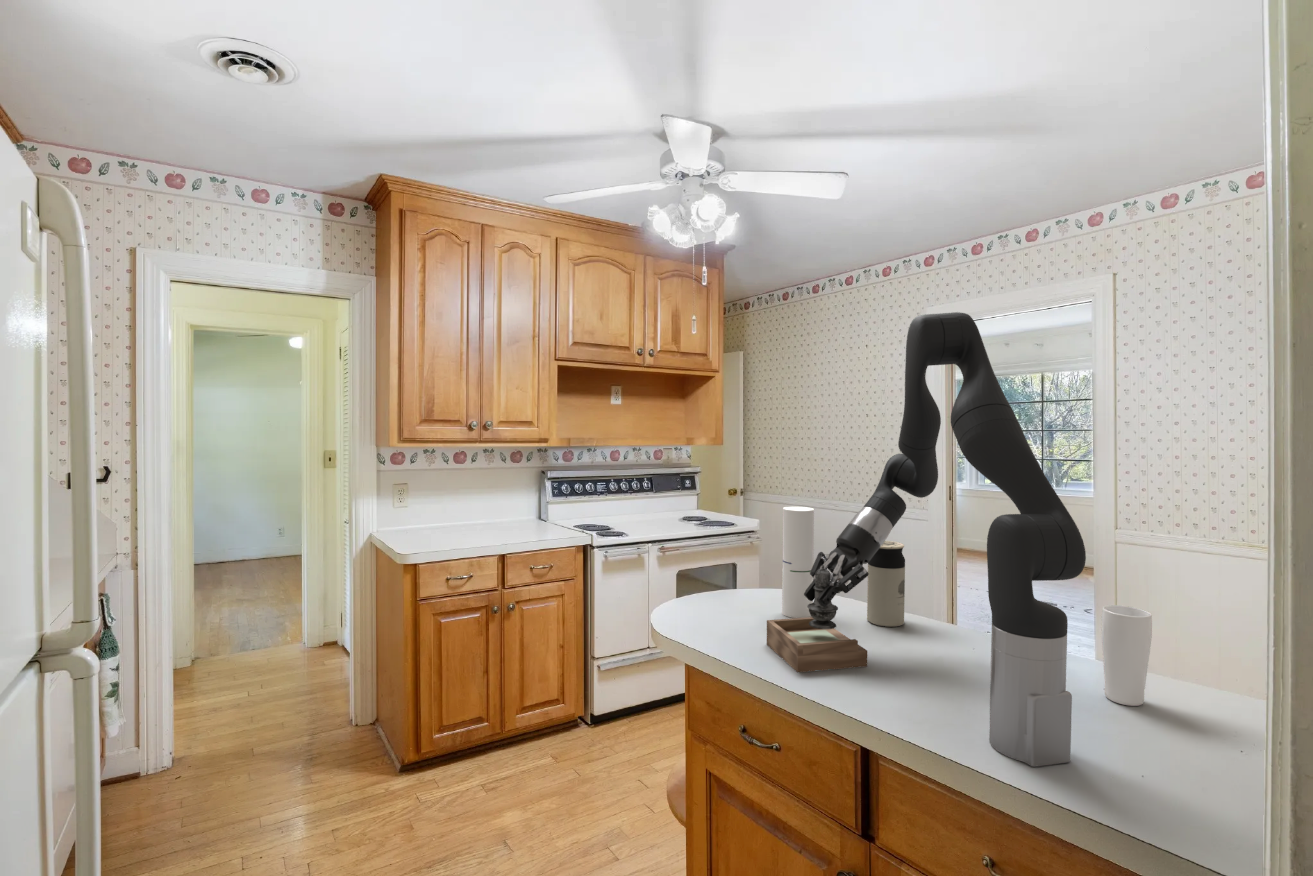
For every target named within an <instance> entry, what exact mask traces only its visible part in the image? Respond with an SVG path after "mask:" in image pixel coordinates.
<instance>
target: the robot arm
mask: <svg viewBox="0 0 1313 876" xmlns="http://www.w3.org/2000/svg"><path fill="white" fill-rule="evenodd" d="M905 344H906V345H905V365H904V366H905V369H904V405H903V406H904V407H903V416H902V420H901V425H900V432H899V437H898V442H897V443H898V444H897V446H898V450H899V451H900V452H901V453H896V454H894V455H892V456H891V457H890V458H889V459H887V461H886V463H885V466H884V467H883V471H882V475H881V477H880V479H879V481H878V483H877V486H876V488H875V490H874V492H873V494H872V495H871V496H870V498H869V499H868V500H867V501H866V502H865V504H864V505H863V507H862V508H861V509H860V510H859V511H858V512H856V513H855V515H854V516H853V518H852V519H851V520H850V521H849V522H848V524H847V525H846V527H845V528H844V529H843V530H842V532H841V533H840V534H839V535H838V537H837V538H836V541H835V543H836V546H835V548H834V549H833V550H832V551H830V552H829V553H826V554H825V553H824V552H823V551H820V552H818V554H817V556H816V558H815V560H814V561H813V567H812V569H811V572H810V575H811V576H812V577H813V582H812V583H811V584H810V585H809V587H808V588H807V589H806V591H805V593H804V596H805V597H806V598H807V599H808V600H810V601H813V602H814V599H815V589H814V588H813V587H814V586H815V573H816V571H817V570H819V569H821V568H822V567H821V566H822V565H824V566H825V567H824V568H825V569H826V570H828V571H829V572H830V583H829V585H830V586H828V585H827V586H826V587H825V589H824V590H823V591H822V593H821V594H820V595H819V596H818V598H817V602H818V603H819V604H820V605H821V606H823V607H826V606H827V604H829V603H830V601H831V602H832V600H833V599H834V598H835V597H836V595H837V594H840V593H841V592H842V593H844V594H848V593H849V592H851V590H853V589H854V588H856V586H858V585H859V584H860V583H861V582H862V581H864V580H865V579H866V578H868V575H869V573H868V570H867V568H865V567H864V566H863V565H866V564H867V565H868V562H869V561H870V560H871V559H872V557H873V556H874V555H875V553H876V552H877V551H878V549H879V548H880V547H881V545H882V544H883V543H884V541H887V538H888V537H889V536H890V533H891V531H892V530H893V529H894V528H895V526H896V524H897V523H898V521H900V520H901V517H902V516H903V515H904V514H905V512H906V509H907V504H906V502H905V500H904V499H903V498H902V497H901V496H900V495H899V494H897V492H895V491H894V490H893V489H894V488H897V489H899V490H901V491H903V492H905V493H906V494H909V495H911V496H913V497H916V498H919V499H923V498H926V497H928V496H929V495H931V494H932V493H933V492H934V491H935V490H936V487H937V484H938V480H939V468H938V462H937V461H938V459H937V451H936V449H937V448H936V447H937V442H938V439H939V434H940V429H941V422H942V421H941V420H942V419H941V418H942V417H941V412H940V410H939V407H938V405H937V402H936V400H935V399H934V397H933V395H932V393H931V391H930V389H929V387H928V384H927V381H926V376H927V375H926V373H927V369H928V366H944V365H945V366H947V365H955V366H957V367H958V368H959V370H960V372H961V374H962V379H963V380H962V384H961V386H960V390H959V392H958V393H957V396H956V399H955V400H954V404H953V406H952V409H951V413H950V425H951V429H952V431H953V434H954V436H955V439H956V442H957V444H958V446H959V449H960V451H961V453H962V455H963V457H964V458H965V459H966V461H967V462H968V463H969V464H970V465H971V466H972V467H973V468H974V469H975V470H977V472H979V473H980V474H981V475H982V476H984V477H985V478H986V479H987V480H989V481H990V482H991V483H992V484H994V485H995V486H996V487H997V488H998V489H1000V490H1001V491H1002V492H1003V493H1004V494H1006V496H1007V497H1008V498H1009V499H1010V500H1011V501H1012V503H1013V504H1014V505H1015V507H1016V508H1017V509H1018V512H1019V513H1012V514H1011V513H1009V514H1007V513H1006V514H1001V515H999V516H996V518H995V519H993V521H992V522H991V524H990V525H989V528H988V533H987V537H986V539H987V540H986V558H987V559H986V560H987V563H986V564H987V585H988V586H987V590H988V591H987V594H988V601H989V605H990V606H989V607H990V610H991V641H990V643H991V644H990V645H991V646H990V680H989V681H990V682H989V683H990V685H989V686H990V687H989V688H990V690H989V730H988V732H989V734H988V735H989V737H988V740H989V743H990V745H991V746H992V747H993V748H994V750H996V751H998V753H1000V754H1002V755H1005V757H1009V758H1011V759H1013V760H1016V761H1020V762H1023V763H1025V764H1027V765H1029V766H1030V767H1033V768H1035V767H1041V766H1043V767H1044V766H1051V765H1057V764H1058V765H1059V764H1064V763H1070V762H1071V746H1072V716H1073V715H1072V714H1073V713H1072V710H1073V707H1072V705H1073V694H1072V693H1071V692H1069V691H1068V690H1066V688H1067V658H1068V657H1067V654H1068V651H1067V650H1068V616H1067V614H1066V613H1065V612H1064V610H1062V609H1060V608H1059V607H1057V606H1055V605H1053V604H1049V603H1047V602H1044V601H1041V600H1038V599H1036V598H1035V595H1034V590H1033V589H1034V588H1033V581H1035V582H1036V581H1039V582H1040V581H1049V582H1050V581H1052V582H1053V581H1066V580H1067V581H1068V580H1072V579H1075V578H1077V577H1079V575H1081V574H1082V572H1083V571H1084V569H1085V565H1086V560H1087V555H1086V552H1087V551H1086V547H1085V543H1084V542H1085V541H1084V540H1083V537H1082V534H1081V532H1080V529H1079V527H1078V525H1077V524H1076V521H1075V519H1073V517H1072V515H1071V514H1070V512H1069V511H1068V509H1067V508H1066V505H1065V504H1064V503H1063V501H1062V500H1061V499H1060V496H1059V495H1058V494H1057V492H1056V490H1055V489H1054V487H1053V486H1052V484H1051V482H1050V481H1049V480H1048V477H1046V474H1045V473H1044V470H1043V469H1042V467H1041V466H1040V463H1039V462H1038V459H1037V458H1036V456H1035V453H1034V452H1033V450H1032V448H1031V447H1030V445H1029V443H1028V440H1027V438H1026V436H1025V434H1024V431H1023V428H1022V427H1021V425H1020V422H1019V420H1018V419H1017V416H1016V414H1015V412H1014V410H1013V408H1012V406H1011V404H1010V403H1009V401H1008V399H1007V397H1006V395H1005V394H1004V392H1003V389H1002V387H1001V385H1000V383H999V381H998V378H997V375H996V374H995V371H994V369H993V367H992V364H991V362H990V358H989V356H988V352H987V350H986V347H985V343H984V342H983V338H982V335H981V333H980V331H979V328H978V325H977V323H976V322H975V320H974V318H973V317H972V316H971V315H969V314H968V313H965V312H958V311H957V312H953V311H952V312H942V313H941V312H940V313H928V314H920V315H917V316H915V317H914V318H913V319H912V320H911V322H910V324H909V327H908V330H907V334H906V342H905ZM849 581H850V582H849Z"/></svg>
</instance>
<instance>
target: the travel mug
mask: <svg viewBox="0 0 1313 876" xmlns="http://www.w3.org/2000/svg"><path fill="white" fill-rule="evenodd" d="M904 547H905V544H903V543H901V542H899V541H898V542H897V541H892V540H885V541H884V543H883V544H882V545H881V547H880V548H879V549H878V551H877V552H876V553H875V555H874V556H873V557H872V559H871V560H870V561H869V562H868V563H867V572H868V573H869V575H868V576H867V591H866V592H867V596H866V597H867V599H866V601H867V602H866V604H867V605H866V612H867V613H866V620H867V621H868V622H869V623H871V624H873V625H875V626H879V627H884V626H885V627H886V628H887V627H888V628H894V627H895V628H896V627H899V626H902V625H904V624H905V597H906V596H905V595H906V594H905V589H906V587H905V585H906V558H905V557H904V555H903V549H904Z"/></svg>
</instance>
